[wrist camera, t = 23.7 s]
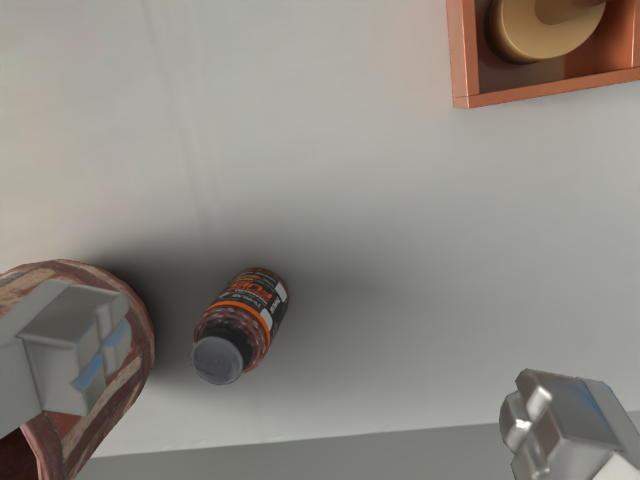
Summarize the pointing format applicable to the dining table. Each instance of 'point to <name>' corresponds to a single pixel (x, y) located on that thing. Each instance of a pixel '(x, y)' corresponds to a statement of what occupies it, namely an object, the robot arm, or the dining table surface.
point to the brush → (539, 27)
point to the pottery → (120, 394)
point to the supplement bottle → (239, 326)
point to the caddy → (545, 76)
